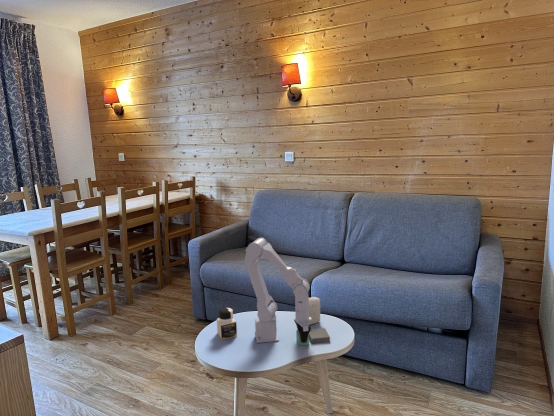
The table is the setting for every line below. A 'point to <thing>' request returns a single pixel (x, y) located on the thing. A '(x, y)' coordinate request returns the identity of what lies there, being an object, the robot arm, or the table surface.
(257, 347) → the table surface
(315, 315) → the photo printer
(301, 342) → the cube
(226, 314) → the medicine bottle
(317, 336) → the base
